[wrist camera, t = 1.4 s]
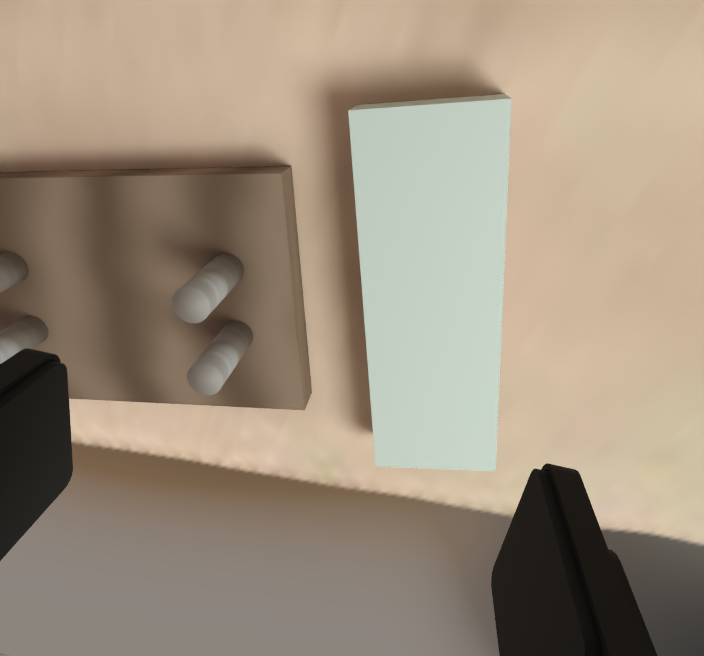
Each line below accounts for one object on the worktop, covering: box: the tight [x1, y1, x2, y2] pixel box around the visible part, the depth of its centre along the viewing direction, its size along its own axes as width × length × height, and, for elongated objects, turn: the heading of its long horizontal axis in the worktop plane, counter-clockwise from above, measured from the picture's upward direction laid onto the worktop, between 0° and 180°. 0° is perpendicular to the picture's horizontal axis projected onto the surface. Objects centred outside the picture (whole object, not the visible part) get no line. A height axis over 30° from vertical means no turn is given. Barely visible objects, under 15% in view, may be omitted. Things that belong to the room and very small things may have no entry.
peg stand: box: [0, 166, 312, 410], centre depth 31 cm, size 20×14×7 cm
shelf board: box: [348, 94, 511, 471], centre depth 30 cm, size 20×7×4 cm, turn 5°
